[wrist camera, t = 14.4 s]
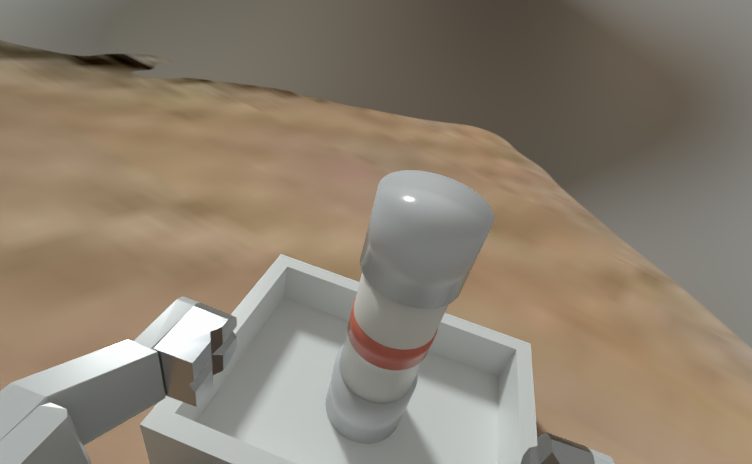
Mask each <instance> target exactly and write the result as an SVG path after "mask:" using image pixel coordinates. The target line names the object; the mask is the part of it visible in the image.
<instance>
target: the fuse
mask: <svg viewBox="0 0 752 464" xmlns="http://www.w3.org/2000/svg"><path fill="white" fill-rule="evenodd" d="M493 222H494V214H493V211H492V209H491V207H490V205H489V204H488V203H487V201H486V200H485V199H484V198H483V197H482V196H480V195H479V194H478V193H477V192H475V191H474V190H472V189H471V188H469V187H468V186H466V185H464V184H462V183H460V182H458V181H456V180H453V179H451V178H448V177H445V176H442V175H439V174H435V173H431V172H425V171H416V170H404V171H397V172H393V173H390V174H388V175H386V176H385V177H384V178H382V180H381V181H380V183H379V185H378V189H377V193H376V197H375V201H374V205H373V209H372V213H371V217H370V222H369V226H368V230H367V234H366V238H365V242H364V246H363V250H362V254H361V259H360V266H361V270H362V276H361V280H360V284H359V288H358V291H357V295H356V298H355V299H354V302H353V306H352V310H351V314H350V317H349V321H348V326H347V334H346V338H345V342H344V344H343V345H342V347H341V348H340V349H339V351H338V353H337V356H336V359H335V363H334V367H333V371H332V375H331V379H330V383H329V387H328V391H327V395H326V403H325V405H326V412H327V415H328V418H329V420H330V422H331V424H332V425H333V427H334V428H335V429H336V430H337V431H338V432H339V433H340V434H341V435H342V436H344V437H345V438H347V439H349V440H351V441H354V442H357V443H362V444H371V443H377V442H380V441H382V440H384V439H386V438H387V437H389V436H390V435H391V434H392V433H393V432H394V431H395V429H396V428H397V426H398V424H399V422H400V420H401V418H402V416H403V413H404V411H405V409H406V407H407V405H408V403H409V401H410V399H411V396H412V394H413V392H414V390H415V388H416V385H417V379H418V374H417V372H418V370H419V368H420V366H421V364H422V361H423V360H424V358H425V357H426V355H427V353H428V351H429V349H430V347H431V345H432V343H433V340H434V338H435V336H436V334H437V331H438V326H439V324H440V322H441V320H442V318H443V315H444V313H445V311H446V309H447V307H448V305H449V304H450V303H452V302H453V301H454V300H455V299H456V298H457V297H458V296H459V294H460V292H461V290H462V288H463V286H464V284H465V282H466V280H467V277H468V275H469V273H470V271H471V269H472V267H473V265H474V263H475V260H476V258H477V256H478V254H479V252H480V250H481V248H482V246H483V243H484V241H485V239H486V237H487V235H488V233H489V231H490V229H491V226H492V224H493Z"/></svg>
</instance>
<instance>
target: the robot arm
mask: <svg viewBox="0 0 752 464" xmlns="http://www.w3.org/2000/svg"><path fill="white" fill-rule="evenodd" d="M236 326H237V318H236V317H235V316H232V315H229V314H227V313H224V312H222V311H219V310H217V309H214V308H212V307H209V306H207V305H204V304H202V303H199V302H197V301H194V300H191V299H189V298H186V297H181V298H179V299H177V300H175V301H174V302H173V303H172V304H171V305H170V306H169V307H168V308H167V309H166V310H165V311H164V312H163V313H162V314H161V315H160V316H159V317H158V318H157V319H155V320H154V321H153V322H152V323H151V324H150V325H149V326H148V327H147V328H146V329H145V330H144V331H143V332H142V333H141V334H140V335H139V336H138V337H137V338H136V339H135V340H134V341H131V340H128V339H127V340H125V341H122V342H119V343H117V344H114V345H111V346H109V347H106V348H103V349H100V350H98V351H95V352H92V353H90V354H87V355H84V356H82V357H79V358H76V359H74V360H71V361H68V362H66V363H63V364H60V365H57V366H55V367H52V368H49V369H47V370H44V371H41V372H39V373H36V374H33V375H31V376H28V377H25V378H23V379H20V380H17V381H14V382H12V383H10V384H9V385H7V386H6V387H5V388H4V389H2V390H1V391H0V464H91V461H90V459H89V457H88V454H87V452H86V450H85V448H84V445H85V444H87V443H89V442H91V441H92V440H94V439H96V438H97V437H99V436H101V435H103V434H104V433H106V432H108V431H110V430H111V429H113V428H115V427H116V426H118V425H120V424H122V423H123V422H125V421H127V420H128V419H130V418H132V417H134V416H135V415H137V414H139V413H141V412H142V411H144V410H146V409H147V408H149V407H151V406H153V405H154V404H156V403H158V402H160V401H161V400H163V399H165V398H166V396H168V397H171V398H173V399H176V400H179V401H182V402H184V403H187V404H190V405H192V406H195V407H197V406H198V405H199V403H200V402H201V401H202V399H203V398H204V396H205V395H206V394H207V392H208V391H209V390H210V388H211V387H212V385H213V375H215V374H217V373H219V372H221V371H223V370H224V369H225V367H226V366H227V364H228V363H229V362H230V360H231V357H232V355H233V353H234V351H235V348H236V344H237V336H236V335H235V333H234V332H233V330H234V329H235V328H236ZM537 445H538V446H535V447H530V448H528V450H527V451H526V452H525V454H524V455H523V458H522V461H521V464H615V462H614V461H613V459H612V458H611V457H610V456H608V455H606V454H603V453H601V452H598V451H595V450H592V449H589V448H587V447H586V446H583V445H580V444H578V443H575V442H572V441H569V440H566V439H563V438H561V437H558V436H555V435H552V434H549V433H547V432H546V433H542V434H541V435H540V436H539V437H538V438H537Z"/></svg>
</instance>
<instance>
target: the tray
mask: <svg viewBox="0 0 752 464" xmlns="http://www.w3.org/2000/svg"><path fill="white" fill-rule="evenodd" d="M359 284H360V282H357V281H355V280H352V279H349V278H346V277H343V276H341V275H338V274H335V273H332V272H330V271H327V270H324V269H321V268H318V267H316V266H313V265H310V264H307V263H304V262H302V261H299V260H296V259H293V258H291V257H288V256H285V255H282V254H281V255H280V256H279V257H278V258H277V259H276V261H275V262H274V263H273V264H272V266H271V267H270V268H269V269H268V270H267V272H266V273H265V274H264V275H263V276H262V278H261V279H260V280H259V281H258V282H257V284H256V285H255V286H254V287H253V288H252V290H251V291H250V292H249V293H248V295H247V296H246V297H245V298H244V299H243V301H242V302H241V303H240V304H239V305H238V307H237V308H236V309H235V310H234V311H233V313H232V314H231V315H232V316H235V317H236V318H237V326H236V328H235V329H234V330H233V332H234V333H235V335H236V336H237V344H236V348H235V351H234V353H233V355H232V357H231V360H230V362H229V363H228V364H227V366H226V367H225V369H224V370H223V371H221V372H219V373H217V374H215V375H213V385H212V387H211V388H210V390H209V391H208V392H207V394H206V395H205V396H204V398H203V399H202V401H201V402H200V403H199V405H198V406H197V407H195V406H192V405H190V404H187V403H184V402H182V401H179V400H176V399H173V398H171V397H168V396H166V398H165V399H163V400H161V401H160V402H158V403H157V404H156V406H155V407H154V408H153V409H152V410H151V412H150V413H149V414H148V415H147V416H146V418H145V419H144V420H143V421H142V423H141V424H140V427H141V431H142V435H143V438H144V442H145V446H146V450H147V454H148V458H149V461H150V464H521V461H522V458H523V455H524V454H525V452H526V451H527V450H528V448H530V447H535V446H538V445H537V428H536V414H535V400H534V386H533V373H532V359H531V345H530V343H527V342H525V341H522V340H519V339H516V338H513V337H511V336H508V335H505V334H502V333H500V332H497V331H494V330H491V329H488V328H486V327H483V326H480V325H477V324H474V323H472V322H469V321H466V320H463V319H461V318H458V317H455V316H452V315H449V314H447V313H444V315H443V318H442V320H441V322H440V324H439V326H438V331H437V334H436V336H435V338H434V340H433V343H432V345H431V347H430V349H429V351H428V353H427V355H426V357H425V358H424V360H423V361H422V364H421V366H420V368H419V370H418V372H417V374H418V379H417V385H416V388H415V390H414V392H413V394H412V396H411V399H410V401H409V403H408V405H407V407H406V409H405V411H404V413H403V416H402V418H401V420H400V422H399V424H398V426H397V428H396V429H395V431H394V432H393V433H392V434H391V435H390V436H389V437H387V438H386V439H384V440H382V441H380V442H377V443H371V444H362V443H357V442H354V441H351V440H349V439H347V438H345V437H344V436H342V435H341V434H340V433H339V432H338V431H337V430H336V429H335V428H334V427H333V425H332V424H331V422H330V420H329V418H328V415H327V412H326V405H325V403H326V395H327V391H328V387H329V383H330V379H331V375H332V371H333V367H334V363H335V359H336V356H337V353H338V351H339V349H340V348H341V347H342V345H343V344H344V342H345V338H346V334H347V326H348V321H349V317H350V314H351V310H352V306H353V302H354V299H355V298H356V295H357V291H358V288H359Z"/></svg>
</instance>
